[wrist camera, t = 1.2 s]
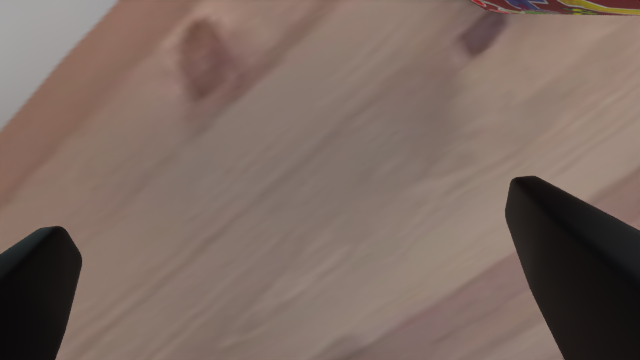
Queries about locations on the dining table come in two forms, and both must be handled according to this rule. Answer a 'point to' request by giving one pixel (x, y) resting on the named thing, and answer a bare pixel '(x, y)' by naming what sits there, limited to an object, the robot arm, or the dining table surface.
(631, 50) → the dining table surface
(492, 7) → the smoothie
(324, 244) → the dining table surface
